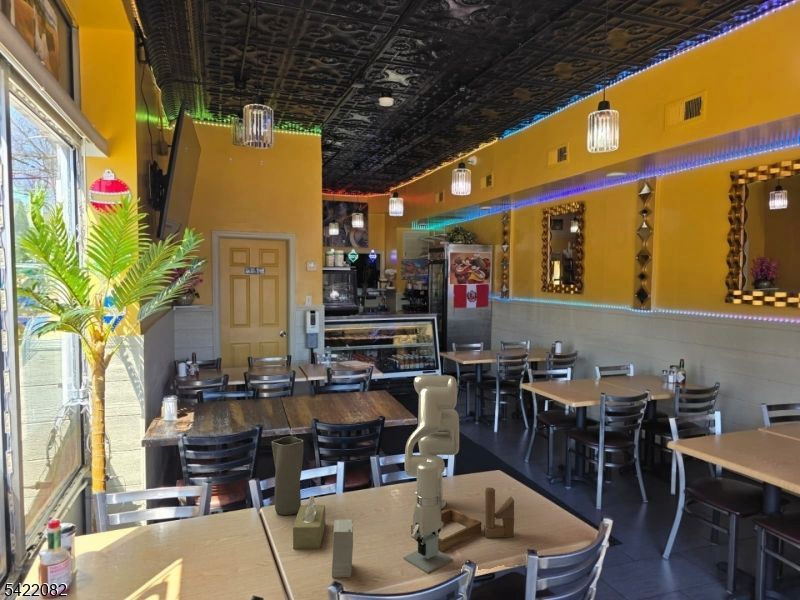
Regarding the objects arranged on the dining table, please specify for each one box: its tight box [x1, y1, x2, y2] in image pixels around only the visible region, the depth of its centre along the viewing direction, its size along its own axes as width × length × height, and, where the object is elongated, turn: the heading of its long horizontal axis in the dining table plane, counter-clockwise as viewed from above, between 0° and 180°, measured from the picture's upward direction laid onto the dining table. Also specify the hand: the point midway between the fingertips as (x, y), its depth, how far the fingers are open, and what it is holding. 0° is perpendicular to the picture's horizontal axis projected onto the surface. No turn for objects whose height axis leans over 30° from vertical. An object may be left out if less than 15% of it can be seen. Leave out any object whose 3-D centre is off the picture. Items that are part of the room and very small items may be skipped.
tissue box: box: [292, 494, 326, 550], centre depth 193 cm, size 19×10×16 cm, turn 3°
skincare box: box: [331, 519, 354, 578], centre depth 169 cm, size 8×7×16 cm
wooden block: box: [483, 487, 515, 539], centre depth 193 cm, size 4×11×18 cm, turn 96°
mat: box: [402, 549, 453, 574], centre depth 176 cm, size 12×12×1 cm
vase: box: [271, 436, 304, 516], centre depth 214 cm, size 12×12×30 cm
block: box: [418, 533, 439, 559], centre depth 176 cm, size 5×5×6 cm
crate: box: [410, 508, 482, 553], centre depth 194 cm, size 16×22×4 cm
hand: (427, 550), depth 176 cm, fingers closed on block, 5 cm apart
